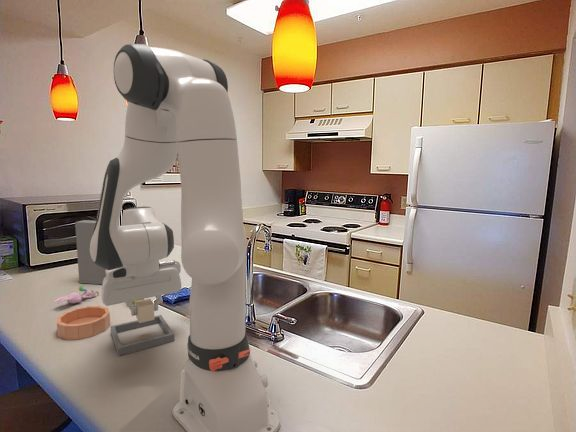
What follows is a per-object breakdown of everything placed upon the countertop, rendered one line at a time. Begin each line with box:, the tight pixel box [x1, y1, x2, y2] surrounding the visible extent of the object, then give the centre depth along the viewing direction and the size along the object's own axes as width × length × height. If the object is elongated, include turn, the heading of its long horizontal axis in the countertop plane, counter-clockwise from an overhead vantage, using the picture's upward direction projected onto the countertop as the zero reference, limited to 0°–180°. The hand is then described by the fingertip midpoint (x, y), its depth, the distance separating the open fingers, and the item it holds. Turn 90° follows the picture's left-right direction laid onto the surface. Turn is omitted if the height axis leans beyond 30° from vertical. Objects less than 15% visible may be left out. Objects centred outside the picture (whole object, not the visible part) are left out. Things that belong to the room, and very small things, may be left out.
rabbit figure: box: [53, 284, 100, 305], centre depth 115 cm, size 6×6×15 cm
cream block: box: [134, 297, 155, 323], centre depth 93 cm, size 5×4×4 cm
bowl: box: [56, 305, 111, 341], centre depth 97 cm, size 13×13×4 cm
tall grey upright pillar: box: [74, 219, 106, 285], centre depth 133 cm, size 14×6×25 cm, turn 84°
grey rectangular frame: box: [109, 314, 175, 357], centre depth 93 cm, size 14×14×2 cm
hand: (144, 312), depth 93 cm, fingers closed on cream block, 4 cm apart
